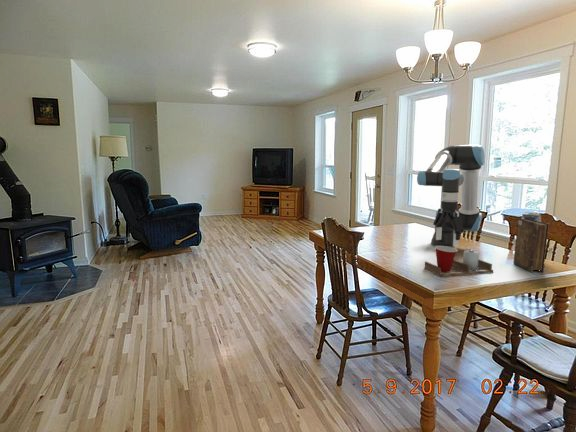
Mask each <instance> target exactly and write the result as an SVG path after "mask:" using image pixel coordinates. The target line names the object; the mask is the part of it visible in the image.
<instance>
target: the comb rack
mask: <svg viewBox="0 0 576 432" xmlns="http://www.w3.org/2000/svg"><path fill="white" fill-rule="evenodd" d="M469 267H470V266H469V265H466V264H464V263H463V261H459V260H457V259H454V260H453V264H452V267H451V268H454V269H455V270H458V271H456V272H452V271H451V272H443V273H441V268H440V267H438V265H436V264H434V263H431V262H429V261H424V270H426V271H428V272H430V273H431V274H433V275H436V276H437V277H439V278H443V277H444V278H445V276H447V277H457V276H456V275H458V276H466V275H465V274H469V275H478V274H477V273H481V274H488V272H492V273H494V269H493V268H492V267H493V264H492V263H491V262H488V261H485V260H482V259H480V258H479V260H478V270H477V271H469ZM481 268H482V269H481ZM484 269H485V270H484Z"/></svg>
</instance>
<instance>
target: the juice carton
mask: <svg viewBox="0 0 576 432" xmlns="http://www.w3.org/2000/svg"><path fill="white" fill-rule="evenodd" d="M520 219H530V220H534V221H539V222H542V213H540V212H539V211H536V210H535V211H533V212H529V211H528V212H524V213H522V214H521V218H520Z"/></svg>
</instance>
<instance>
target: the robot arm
mask: <svg viewBox="0 0 576 432" xmlns="http://www.w3.org/2000/svg"><path fill="white" fill-rule="evenodd" d="M484 165H485V150H484V147H483V146H482V145H480V144H460V145H456V144H455V145H449V146H447V147H445V148H443V149H441V150H440V151H439V152H437V153H436V155H435V158H434V160H433V161H432V162H431V164H430V165H429V167H428V168H427V170H423V171H419V172H418V173H417V177H416V182H417V185H419V186H425V187H441V203H440V208H438V209H437V210H436V212H435V218H434V221H433V226H434V232H433V236H432V238H431V241H430V244H431V245H434V246H448V247H452V248H455V247H459V246H460V239H461V234H464V232H465V231H466V232H478V231H479V229H480V227H481V226H480V225H481V223H482V218H483V213H482V212H480V209H479V208H478V188H479V186H478V183H479V181H478V180H479V179H478V178H479V170H481V169H482V167H483V166H484ZM449 166H459V168H458V169H457V168H447V167H449ZM460 170H461V171H460ZM460 186H461V199H460V200H461V204H460V205H461V206H460V208H459V209H458V207H459V205H458V204H459V203H458V201H459V191H460V189H459V187H460ZM457 209H458V211H457Z"/></svg>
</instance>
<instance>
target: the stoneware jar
mask: <svg viewBox="0 0 576 432" xmlns="http://www.w3.org/2000/svg"><path fill="white" fill-rule="evenodd" d="M479 257H480V252H479V251H477V250H474V249H472V248H471V249H467V250H463V258H462V263H464V264H466V265H469V266H470V267H469V270H471V271H476V270H477V271H478V270H479V267H478V260H479V259H480V258H479Z"/></svg>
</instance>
